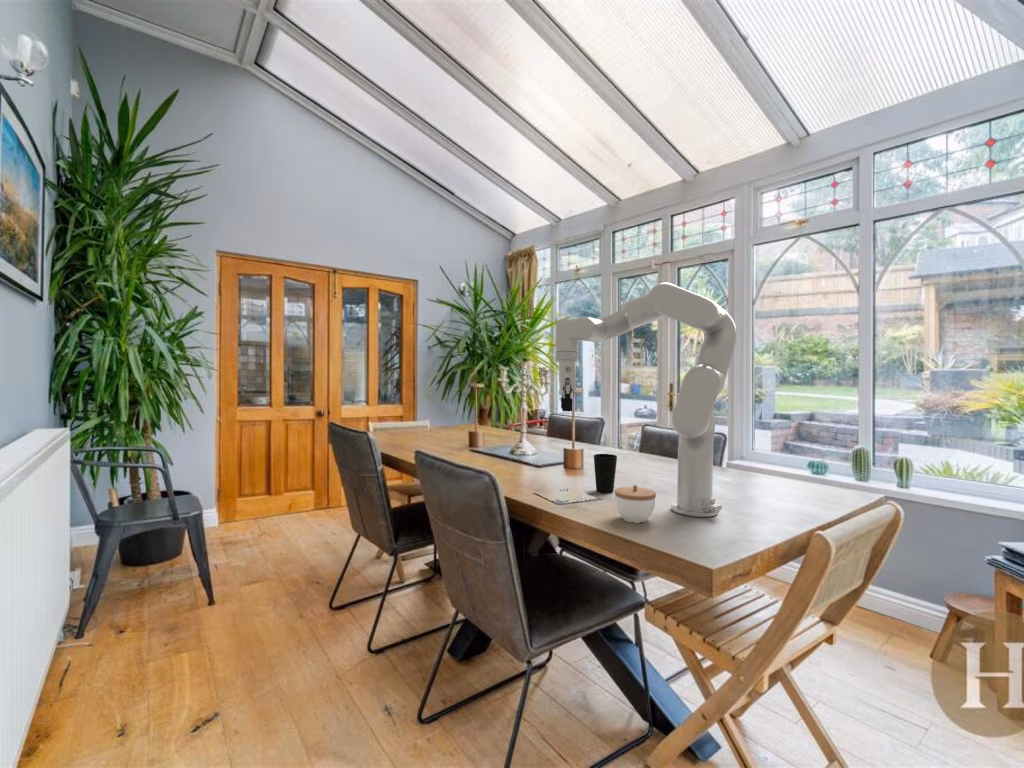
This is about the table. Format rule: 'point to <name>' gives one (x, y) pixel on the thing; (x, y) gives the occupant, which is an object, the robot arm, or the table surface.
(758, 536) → the table surface
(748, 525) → the table surface
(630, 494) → the lidded jar
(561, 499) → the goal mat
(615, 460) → the cup
